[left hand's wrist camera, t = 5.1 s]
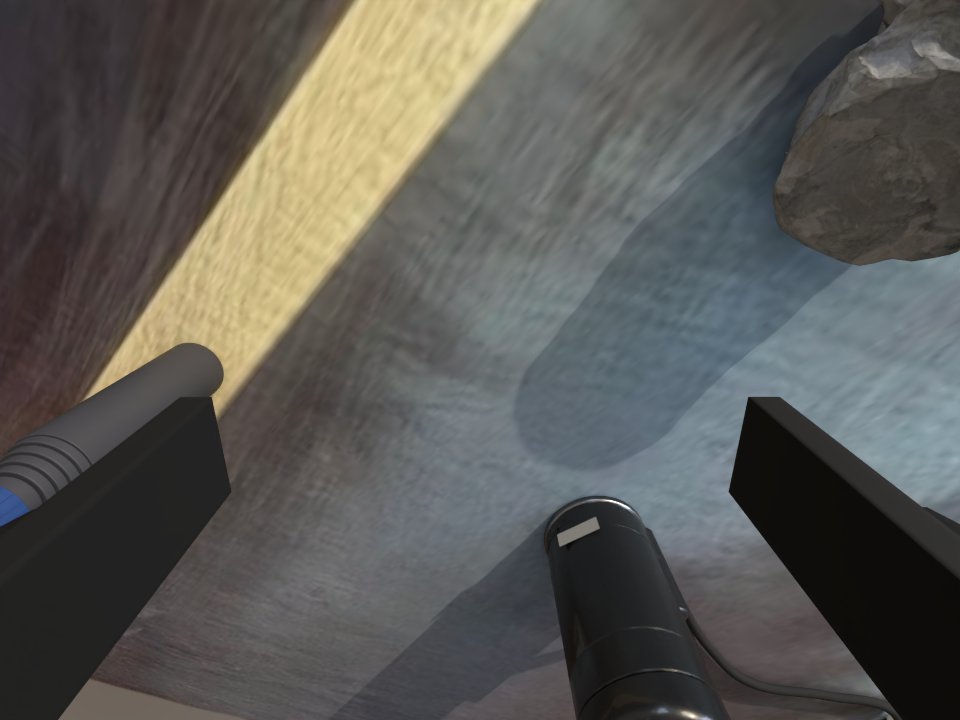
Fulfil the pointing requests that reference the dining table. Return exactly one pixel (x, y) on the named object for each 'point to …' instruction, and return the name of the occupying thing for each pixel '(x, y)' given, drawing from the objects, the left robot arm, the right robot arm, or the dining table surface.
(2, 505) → the cap
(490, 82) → the dining table surface
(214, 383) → the bottle
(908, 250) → the decorative stone
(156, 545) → the left robot arm
